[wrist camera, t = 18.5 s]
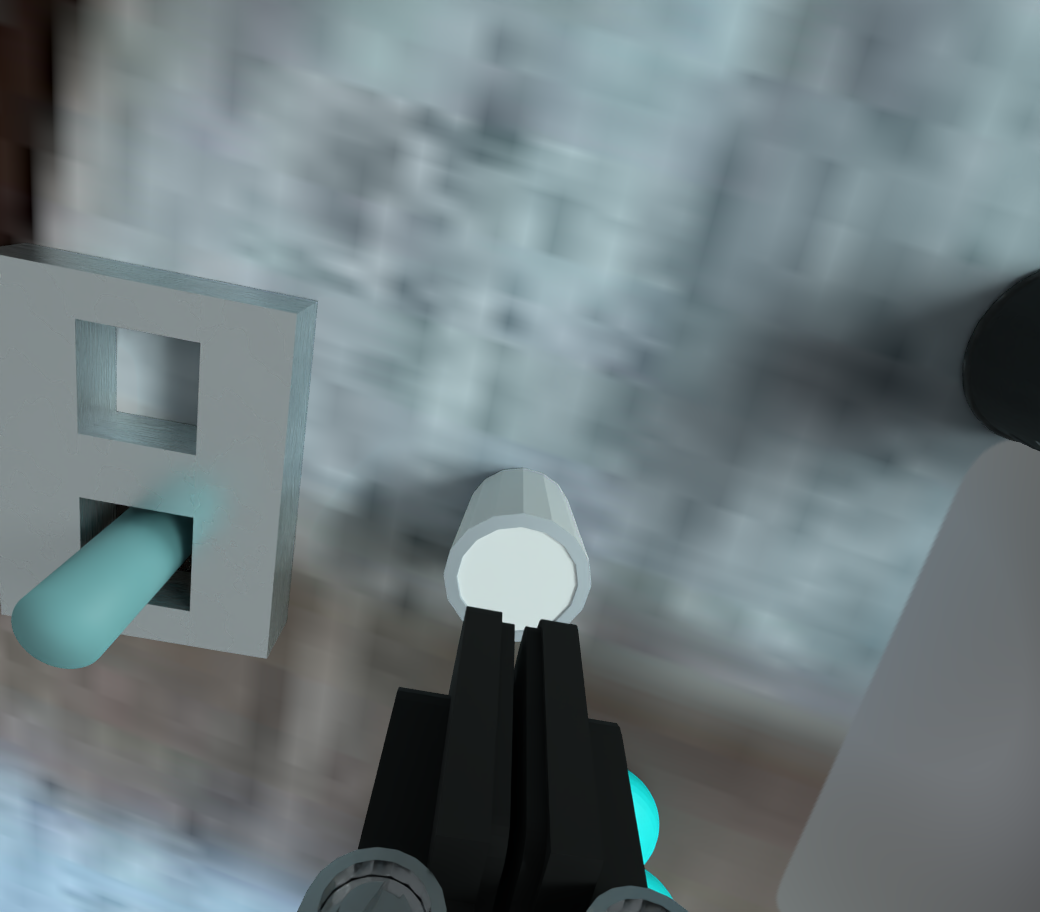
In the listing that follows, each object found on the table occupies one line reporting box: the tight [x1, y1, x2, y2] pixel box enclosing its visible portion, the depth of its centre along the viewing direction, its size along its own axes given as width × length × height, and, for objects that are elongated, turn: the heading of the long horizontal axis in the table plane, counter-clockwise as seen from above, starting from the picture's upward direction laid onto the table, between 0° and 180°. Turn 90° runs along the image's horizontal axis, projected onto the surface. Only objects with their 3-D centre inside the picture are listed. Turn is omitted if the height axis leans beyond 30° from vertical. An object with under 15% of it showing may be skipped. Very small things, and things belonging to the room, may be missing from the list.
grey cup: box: [443, 468, 591, 642], centre depth 37 cm, size 7×7×7 cm
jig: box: [0, 243, 318, 659], centre depth 37 cm, size 19×14×4 cm
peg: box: [11, 507, 193, 669], centre depth 36 cm, size 4×4×10 cm
